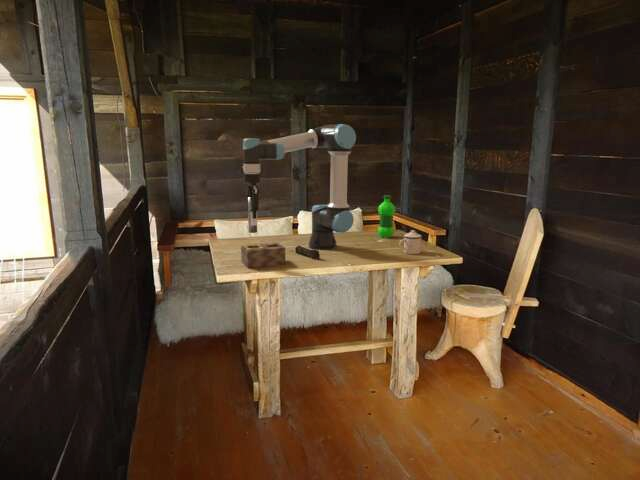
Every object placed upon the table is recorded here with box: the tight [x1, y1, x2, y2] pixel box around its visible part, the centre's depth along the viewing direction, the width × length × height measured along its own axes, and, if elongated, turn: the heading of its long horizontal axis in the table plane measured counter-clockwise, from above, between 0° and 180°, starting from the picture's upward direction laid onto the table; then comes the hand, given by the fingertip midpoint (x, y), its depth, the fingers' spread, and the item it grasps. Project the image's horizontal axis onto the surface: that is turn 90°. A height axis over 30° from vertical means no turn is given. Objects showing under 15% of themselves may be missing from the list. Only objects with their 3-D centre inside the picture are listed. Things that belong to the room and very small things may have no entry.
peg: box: [247, 197, 258, 234], centre depth 219 cm, size 4×4×16 cm
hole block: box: [240, 242, 286, 269], centre depth 225 cm, size 18×12×8 cm, turn 112°
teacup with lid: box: [399, 229, 423, 255], centre depth 248 cm, size 12×9×12 cm
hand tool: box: [294, 245, 321, 261], centre depth 239 cm, size 19×4×5 cm, turn 33°
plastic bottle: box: [377, 194, 396, 238], centre depth 286 cm, size 10×10×25 cm
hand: (252, 224), depth 220 cm, fingers closed on peg, 4 cm apart
